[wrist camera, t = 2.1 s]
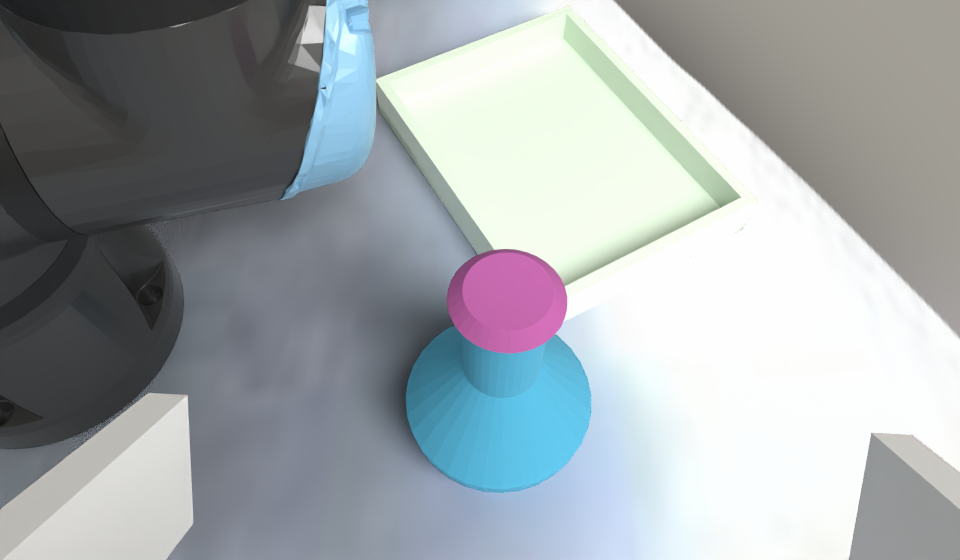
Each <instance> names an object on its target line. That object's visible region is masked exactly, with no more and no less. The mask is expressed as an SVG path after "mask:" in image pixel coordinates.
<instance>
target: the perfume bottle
mask: <svg viewBox="0 0 960 560" xmlns="http://www.w3.org/2000/svg"><path fill="white" fill-rule="evenodd" d="M447 305H448V311H449V314H450V317H451V320H452V322H453V323H454V326H452V327H450V328H448V329H446V330H445V331H443V332H442V333H441V334H439V335H438V336H437V337H435V338H434V339H433V340H432V341H431V342H430V343H429V344H428V345H427V346H426V348H425V349H424V350H423V351H422V352H421V354H420V356H419V357H418V359H417V361H416V362H415V364H414V365H413V368H412V371H411V374H410V377H409V380H408V384H407V391H406V410H407V417H408V421H409V424H410V428H411V431H412V433H413V435H414V437H415V439H416V441H417V443H418V445H419V447H420V449H421V450H422V452H423V454H424V455H425V456H426V457H427V459H428V460H429V461H430V462H431V463H432V464H433V466H434V467H435V468H437V469H438V470H439V471H440V472H442V473H443V474H444V475H445V476H447V477H448V478H450V479H452V480H454V481H456V482H457V483H459V484H461V485H463V486H466V487H469V488H473V489H476V490H480V491H485V492H498V493H504V492H512V491H520V490H523V489H526V488H529V487H532V486H535V485H538V484H540V483H541V482H543V481H545V480H547V479H548V478H550V477H552V476H553V475H555V474H556V473H557V472H558V471H559V470H560V469H561V468H562V467H563V466H565V465H566V464H567V462H568V461H569V460H570V459H571V457H572V456H573V454H574V453H575V452H576V450H577V449H578V448H579V446H580V445H581V443H582V440H583V438H584V436H585V434H586V431H587V429H588V424H589V420H590V415H591V392H590V388H589V383H588V379H587V376H586V374H585V372H584V369H583V367H582V365H581V363H580V361H579V360H578V358H577V357H576V355H575V354H574V353H573V351H572V350H571V348H570V347H569V346H568V345H567V344H566V343H565V342H563V341H562V340H561V339H560V338H559V337H558V336H557V335H555V333H556V332H557V331H558V330H559V329H560V327H561V325H562V323H563V321H564V319H565V316H566V312H567V293H566V289H565V286H564V284H563V282H562V279H561V278H560V276H559V275H558V274H557V272H556V271H555V270H554V269H553V268H552V267H551V266H550V265H549V264H548V263H547V262H545V261H544V260H542V259H541V258H539V257H537V256H535V255H533V254H530V253H528V252H524V251H520V250H515V249H497V250H491V251H487V252H484V253H481V254H479V255H477V256H475V257H473V258H471V259H470V260H468V261H467V262H466V263H464V264H463V265H462V266H461V267H460V268H459V269H458V270H457V272H456V273H455V275H454V277H453V278H452V280H451V282H450V285H449V288H448V294H447Z"/></svg>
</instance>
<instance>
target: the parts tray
mask: <svg viewBox="0 0 960 560" xmlns="http://www.w3.org/2000/svg"><path fill="white" fill-rule="evenodd" d="M376 91H377V98H378V104H379V111H380V113H381V114H382V116H383V117H384V118H385V120H386V121H387V123H388V124H389V126H390V127H391V129H392V130H393V132H394V133H395V134H396V136H397V137H398V139H399V140H400V142H401V143H402V145H403V146H404V148H405V149H406V151H407V152H408V153H409V155H410V156H411V158H412V159H413V161H414V162H415V164H416V165H417V167H418V168H419V170H420V171H421V172H422V174H423V175H424V177H425V178H426V180H427V181H428V183H429V184H430V186H431V187H432V188H433V190H434V191H435V193H436V194H437V196H438V197H439V199H440V200H441V202H442V203H443V205H444V206H445V207H446V209H447V210H448V212H449V213H450V215H451V216H452V218H453V219H454V221H455V222H456V223H457V225H458V226H459V228H460V229H461V231H462V232H463V234H464V235H465V237H466V238H467V240H468V241H469V242H470V244H471V245H472V247H473V248H474V250H475V251H476V253H477V254H478V255H479V254H481V253H484V252H487V251H491V250H497V249H515V250H520V251H524V252H528V253H530V254H533V255H535V256H537V257H539V258H541V259H542V260H544V261H545V262H547V263H548V264H549V265H550V266H551V267H552V268H553V269H554V270H555V271H556V272H557V274H558V275H559V276H560V278H561V279H562V282H563V284H564V286H565V289H566V293H567V312H566V316H565V319H564V321H563V322H565V321H566V320H568V319H570V318H572V317H574V316H576V315H578V314H580V313H582V312H584V311H586V310H588V309H590V308H591V307H593V306H595V305H597V304H599V303H601V302H603V301H605V300H607V299H609V298H611V297H613V296H615V295H616V294H618V293H620V292H622V291H624V290H626V289H628V288H630V287H632V286H634V285H636V284H638V283H640V282H641V281H643V280H645V279H647V278H649V277H651V276H653V275H655V274H657V273H659V272H661V271H663V270H665V269H666V268H668V267H670V266H672V265H674V264H676V263H678V262H680V261H682V260H684V259H686V258H688V257H690V256H691V255H693V254H695V253H697V252H699V251H701V250H703V249H705V248H707V247H709V246H711V245H713V244H715V243H716V242H718V241H720V240H722V239H724V238H726V237H728V236H730V235H732V234H734V233H736V232H738V231H739V230H741V229H743V227H744V225H745V223H746V221H747V219H748V218H749V216H750V214H751V212H752V210H753V208H754V207H755V205H756V203H757V201H758V200H757V199H756V198H755V197H754V196H753V195H752V194H751V193H750V192H749V191H748V190H747V189H746V188H745V187H744V186H743V185H742V184H741V183H740V182H739V181H738V180H737V179H736V178H735V177H734V176H733V175H732V174H731V172H730V171H729V170H728V169H727V168H726V167H725V166H724V165H723V164H722V163H721V162H720V161H719V160H718V159H717V158H716V157H715V156H714V155H713V154H712V153H711V152H710V151H709V150H708V149H707V148H706V147H705V146H704V145H703V144H702V142H701V141H700V140H699V139H698V138H697V137H696V136H695V135H694V134H693V133H692V132H691V131H690V130H689V129H688V128H687V127H686V126H685V125H684V124H683V123H682V122H681V121H680V120H679V119H678V118H677V117H676V116H675V115H674V114H673V112H672V111H671V110H670V109H669V108H668V107H667V106H666V105H665V104H664V103H663V102H662V101H661V100H660V99H659V98H658V97H657V96H656V95H655V94H654V93H653V92H652V91H651V90H650V89H649V88H648V87H647V86H646V85H645V84H644V82H643V81H642V80H641V79H640V78H639V77H638V76H637V75H636V74H635V73H634V72H633V71H632V70H631V69H630V68H629V67H628V66H627V65H626V64H625V63H624V62H623V61H622V60H621V59H620V58H619V57H618V56H617V55H616V54H615V52H614V51H613V50H612V49H611V48H610V47H609V46H608V45H607V44H606V43H605V42H604V41H603V40H602V39H601V38H600V37H599V36H598V35H597V34H596V33H595V32H594V31H593V30H592V29H591V28H590V27H589V26H588V25H587V24H586V22H585V21H584V20H583V19H582V18H581V17H580V16H579V15H578V14H577V13H576V12H575V11H574V10H573V9H572V8H571V7H570V6H567V7H564V8H562V9H559V10H556V11H554V12H551V13H549V14H546V15H543V16H541V17H538V18H535V19H533V20H530V21H527V22H525V23H522V24H520V25H517V26H514V27H512V28H509V29H506V30H504V31H501V32H499V33H496V34H493V35H491V36H488V37H485V38H483V39H480V40H478V41H475V42H472V43H470V44H467V45H464V46H462V47H459V48H457V49H454V50H451V51H449V52H446V53H443V54H441V55H438V56H436V57H433V58H430V59H428V60H425V61H422V62H420V63H417V64H415V65H412V66H409V67H407V68H404V69H401V70H399V71H396V72H393V73H391V74H388V75H386V76H383V77H380V78H378V79H376Z"/></svg>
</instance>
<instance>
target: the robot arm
mask: <svg viewBox="0 0 960 560" xmlns="http://www.w3.org/2000/svg"><path fill="white" fill-rule="evenodd" d="M368 18H369V9H368V0H0V449H20V448H30V447H37V446H42V445H47V444H51V443H54V442H58V441H61V440H64V439H67V438H70V437H72V436H75V435H77V434H80V433H82V432H84V431H86V430H88V429H90V428H92V427H94V426H96V425H98V424H100V423H101V422H103V421H105V420H106V419H108V418H109V417H111V416H113V415H114V414H115V413H117V412H118V411H120V410H121V409H122V408H123V407H125V406H126V405H127V404H128V403H130V402H131V401H132V400H133V399H134V398H135V397H136V396H137V395H139V394H140V393H141V391H142V390H143V389H144V388H145V387H146V386H147V385H148V384H149V383H150V382H151V381H152V379H153V378H154V377H155V376H156V374H157V373H158V372H159V370H160V369H161V367H162V366H163V364H164V363H165V361H166V359H167V358H168V356H169V354H170V352H171V350H172V348H173V346H174V344H175V341H176V339H177V336H178V333H179V330H180V326H181V322H182V316H183V306H184V298H183V288H182V284H181V280H180V277H179V273H178V271H177V269H176V267H175V265H174V263H173V261H172V260H171V258H170V257H169V255H168V254H167V252H166V250H165V249H164V247H163V246H162V244H161V243H160V241H159V240H158V239H157V237H156V236H155V235H154V234H153V233H152V232H151V231H150V230H149V229H148V228H147V227H146V226H145V225H144V224H150V223H155V222H160V221H165V220H171V219H176V218H181V217H187V216H192V215H197V214H202V213H208V212H213V211H218V210H223V209H229V208H234V207H239V206H245V205H250V204H255V203H260V202H266V201H271V200H276V199H277V200H278V201H280V200H285V199H290V198H292V197H293V196H295V195H296V194H297V193H298V192H302V191H306V190H310V189H313V188H317V187H321V186H324V185H328V184H332V183H336V182H339V181H343V180H345V179H347V178H349V177H351V176H352V175H354V174H355V173H356V172H357V171H359V170H360V169H361V168H362V167H363V165H364V164H365V162H366V160H367V159H368V157H369V154H370V152H371V149H372V145H373V140H374V133H375V123H376V72H375V55H374V45H373V35H372V32H371V28H370V26H369V23H368ZM192 524H193V503H192V481H191V460H190V438H189V416H188V395H177V394H159V393H148V394H146V395H145V396H144V397H143V398H141V399H140V400H139V401H137V402H136V403H135V404H134V405H132V406H131V407H130V408H129V409H127V410H126V411H125V412H123V413H122V414H121V415H120V416H118V417H117V418H116V419H115V420H113V421H112V422H111V423H109V424H108V425H107V426H106V427H104V428H103V429H102V430H101V431H99V432H98V433H97V434H95V435H94V436H93V437H92V438H90V439H89V440H88V441H87V442H85V443H84V444H83V445H81V446H80V447H79V448H78V449H76V450H75V451H74V452H72V453H71V454H70V455H69V456H67V457H66V458H65V459H64V460H62V461H61V462H60V463H58V464H57V465H56V466H55V467H53V468H52V469H51V470H50V471H48V472H47V473H46V474H44V475H43V476H42V477H41V478H39V479H38V480H37V481H36V482H34V483H33V484H32V485H30V486H29V487H28V488H27V489H25V490H24V491H23V492H22V493H20V494H19V495H18V496H16V497H15V498H14V499H13V500H11V501H10V502H9V503H8V504H6V505H5V506H4V507H2V508H1V509H0V560H166V559H167V557H168V556H169V555H170V553H171V552H172V551H173V549H174V548H175V547H176V546H177V544H178V543H179V542H180V540H181V539H182V538H183V536H184V535H185V534H186V532H187V531H188V530H189V528H190V527H191V526H192ZM849 560H960V472H959V471H957V470H956V469H955V468H954V467H952V466H951V465H950V464H948V463H947V462H946V461H945V460H943V459H942V458H941V457H939V456H938V455H937V454H936V453H934V452H933V451H932V450H931V449H929V448H928V447H927V446H925V445H924V444H923V443H922V442H920V441H919V440H918V439H917V438H915V437H914V436H913V435H901V434H883V433H871V439H870V444H869V450H868V456H867V461H866V467H865V472H864V478H863V484H862V489H861V495H860V501H859V506H858V512H857V517H856V523H855V529H854V534H853V540H852V545H851V551H850V557H849Z"/></svg>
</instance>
